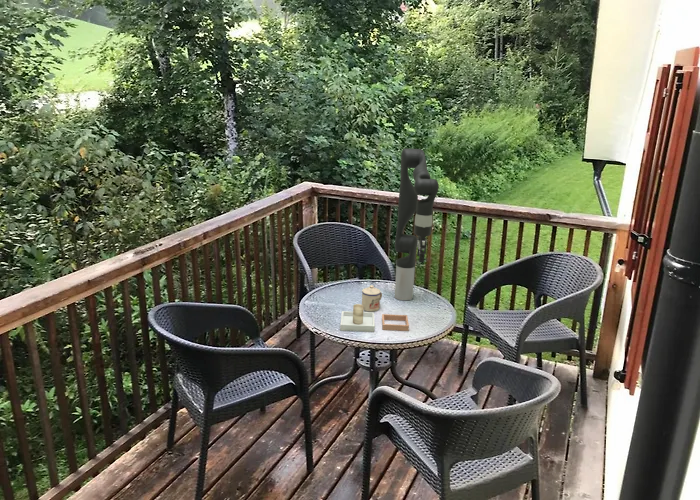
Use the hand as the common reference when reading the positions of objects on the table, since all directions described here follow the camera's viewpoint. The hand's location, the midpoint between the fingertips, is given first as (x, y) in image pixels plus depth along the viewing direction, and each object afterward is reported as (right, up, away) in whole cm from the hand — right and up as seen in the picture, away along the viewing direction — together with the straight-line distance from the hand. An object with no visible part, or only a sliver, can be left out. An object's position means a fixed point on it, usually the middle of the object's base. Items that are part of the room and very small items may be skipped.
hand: (420, 258), depth 252 cm
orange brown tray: (-11, -30, +3) cm, 32 cm away
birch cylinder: (-28, -29, +3) cm, 40 cm away
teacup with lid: (-21, -24, +22) cm, 39 cm away
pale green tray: (-28, -30, +3) cm, 41 cm away
